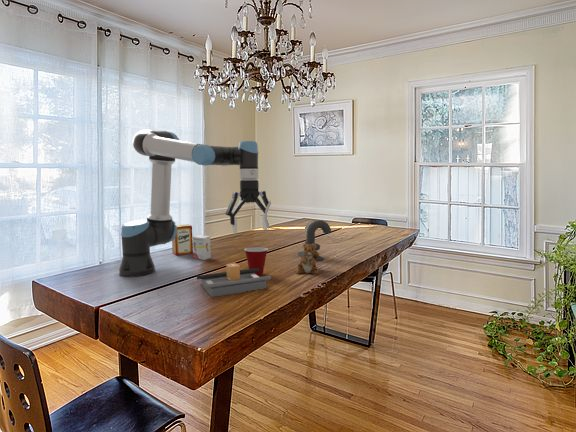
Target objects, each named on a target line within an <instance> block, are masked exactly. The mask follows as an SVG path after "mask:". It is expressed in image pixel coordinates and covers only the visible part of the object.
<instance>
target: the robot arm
mask: <svg viewBox="0 0 576 432" xmlns="http://www.w3.org/2000/svg"><path fill="white" fill-rule="evenodd" d="M132 146H133V148H134V150H135V151H136V153H138V154H140V155H142V156H145V157H148V161H150V162H151V164H152V169H151V193H150V196H151V197H150V213H149V214H148V215H147V216H146V219H138V220H131V221H128V222H125V223H124V224H122V226H121V230H120V231H121V233H120V236H121V247H122V251H121V252H122V258H121V263H120V265H119V275H120V276H122V277H129V276H133V277H142V276H147V275H151V274H153V273H155V271H156V269H155V268H156V267H155V263H154V261H153V258H152V256H151V247H155V246H159V245H166V244H167V243H168V244H169V243H170V242H171V243H172V240H173V239H174V238H175V237H176V234H177V226H176V225H177V224H176V222H175V221H174V220H173V217H172V215H171V213H170V211H171V210H170V209H171V208H170V206H171V187H172V185H171V184H172V183H171V182H172V167H173V166H172V165H173V164H175V162H176V160H181V161H182V160H183V161H186V162H191V163H192V162H193V163H195V164H197V165H200V166H222V167H223V166H225V167H227V166H239V180H240V181H239V189H240V191H239V192H236V191H233V192H232V197H231V200H230V202H229V204H228V207H227V209H226V211H225V215H226V216H228V217H229V218H230V220H229V222H230V223H229V224H230V225H232V233H234V234H238V223H237V221H238V219H237V218H238V217H237V216H236V215H237V214H238V212H239V211H240V209H241V208H242V207H243V205H245V203H247V204H249V203H255V204H256V205H257V206H258V207H259V209H260V210H261V211H262V212H263V214H262V230H263V231H268V224H267V221H266V211H267V208H268V206H269V204H270V201H269V199H268V198H267V192H266V191H265V190H261V191H259V188H260V187H259V184H260V183H259V180H258V179H259V148H258V147H259V146H258V143H257V141H255V140H254V141H253V140H243V141H239V142H238V146H218V145H216V146H215V145H209V144H202V143H195V142H190V141H183V140H180V138H179V137H178V136H177V135H176V133H173V132H170V131H167V130H155V129H154V130H153V129H142V130H139V131H138V132H136V133H135V134H134V135H133V138H132ZM259 196H260V197H261V199H262V202H263V203H262V202H261V200H260V198H259ZM238 198H240V199H239V201H238ZM237 201H238V202H237ZM236 203H237V204H236ZM235 205H236V206H235Z"/></svg>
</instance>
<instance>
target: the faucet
mask: <svg viewBox="0 0 576 432" xmlns="http://www.w3.org/2000/svg"><path fill="white" fill-rule="evenodd" d="M318 229H320V230H322V233H324V234H331V233H332V228H331V226H330V224H329V223H328V222H326V221H325V220H323V219H321V220H320V219H319V220H314V221H311V222H310V223H309V224H308V226H307V228H306V237H305V238H306V239H305V242H304V244H305V245H306V244H312V245H313V246H314V245H317V247H316V248H315V250H317V251H319V250H320V248H321V245H320V244H319V243H316V239H315V237H316V231H317V230H318ZM303 253H304V251H299V252H297V256H299V257H301V258H302V256H303V255H304V254H303ZM323 260H324V261H325V258H324V257H322V256H321V255H319V256H318V258H317V259H316V260H315V261H316V262H324V261H323Z"/></svg>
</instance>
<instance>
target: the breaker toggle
mask: <svg viewBox="0 0 576 432" xmlns="http://www.w3.org/2000/svg"><path fill="white" fill-rule="evenodd" d="M225 266H226V271H225V272H227V278H228V279H229V280H230V281H234V280H240V270H241V266H240V265H239V264H238V263H236V262H235V263H234V262H233V263H226V264H225Z"/></svg>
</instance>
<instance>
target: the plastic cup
mask: <svg viewBox="0 0 576 432" xmlns="http://www.w3.org/2000/svg"><path fill="white" fill-rule="evenodd" d="M243 251H244V252H245V256H246V260H247V261H246V262H247V266H248V267H247V268H248V269H254V268H259V272H253V273H255V274H256V275H258V276H259V275H260V276H263V274H264V269H265V264H266V259H267V253H268V251H269V248H267V247H246V248H244V250H243ZM260 276H259V277H260Z"/></svg>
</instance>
